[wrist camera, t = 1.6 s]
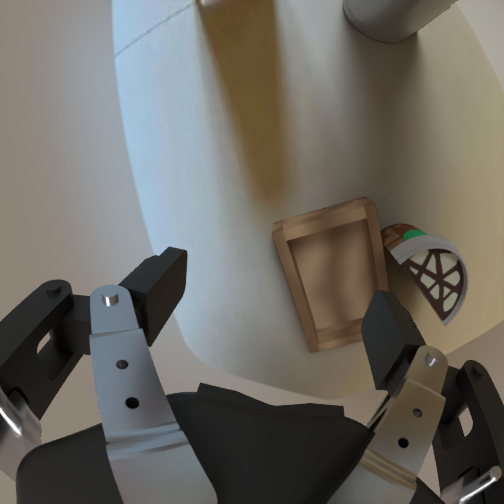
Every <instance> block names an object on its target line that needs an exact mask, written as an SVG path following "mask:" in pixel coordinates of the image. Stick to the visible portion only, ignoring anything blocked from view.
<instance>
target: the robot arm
mask: <svg viewBox="0 0 504 504" xmlns="http://www.w3.org/2000/svg"><path fill="white" fill-rule="evenodd" d="M456 1H458V0H343V9H344V12H345V14H346V16H347V18H348V19H349V21H350V22H351V23H352V24H353V25H354V26H355V27H356V28H357V29H358V30H359V31H361V32H362V33H364V34H365V35H367V36H369V37H371V38H373V39H375V40H378V41H382V42H388V43H395V42H400V41H403V40H405V39H406V38H407V37H409V36H410V35H411V34H413V33H414V32H415V31H418V30H420V29H421V28H422V27H424V26H425V25H426V24H428V23H429V22H431V21H432V20H433V19H435V18H436V17H437V16H439V15H440V14H442V13H443V12H444V11H446V10H447V9H449V8H450V6H451V5H452V4H453V3H455V2H456ZM186 272H187V251H186V250H183V249H178V248H174V247H168V248H167V249H166V250H165V251H164V252H163V253H162V254H161V255H160V256H157V255H155V256H152V257H150V258H147V259H145V260H144V261H143V262H142V263H141V264H140V265H139V266H138V267H137V268H135V269H134V271H133V272H131V273H130V274H129V275H128V276H127V277H126V278H125V279H124V280H123V281H122V282H121V283H120V284H118V285H106V286H102V287H99V288H97V289H96V290H94V291H93V292H92V294H91V296H82V295H73V294H72V288H71V285H70V284H69V283H68V282H67V281H64V280H51V281H47V282H45V283H43V284H42V285H40V286H39V287H38V288H37V289H36V290H35V291H33V292H32V293H31V294H30V295H29V296H28V297H27V298H26V299H24V300H23V301H22V302H21V303H20V304H19V305H18V306H16V307H15V309H13V310H12V311H11V312H10V313H9V314H8V315H7V316H6V317H5V318H4V319H3V320H2V321H1V322H0V469H1V470H2V471H3V472H4V473H6V474H7V475H8V476H9V477H11V478H12V479H13V480H14V481H15V482H16V494H17V504H504V405H503V403H502V401H501V398H500V396H499V394H498V392H497V390H496V388H495V386H494V383H493V381H492V380H491V377H490V376H489V374H488V372H487V370H486V369H485V368H484V366H482V365H481V364H480V363H478V362H476V361H474V360H468V361H466V362H465V363H464V365H463V366H462V368H461V369H457V368H454V367H451V366H448V361H447V358H446V357H445V355H444V354H443V353H442V352H441V351H440V350H438V349H436V348H434V347H432V346H428V345H426V343H425V341H424V339H423V337H422V335H421V333H420V332H419V330H418V328H417V326H416V324H415V322H413V319H412V317H411V315H410V313H409V312H408V311H407V310H406V309H405V308H404V307H403V306H402V305H401V304H400V303H399V301H398V299H397V297H396V295H395V294H394V293H393V292H389V291H383V290H376V291H375V293H374V295H373V297H372V299H371V302H370V304H369V306H368V309H367V311H366V313H365V315H364V318H363V320H362V324H361V335H362V338H363V342H364V345H365V349H366V352H367V356H368V360H369V364H370V367H371V371H372V375H373V379H374V383H375V388H376V390H388V394H387V395H386V397H385V398H384V399H383V401H382V402H381V404H380V406H379V407H378V409H377V410H376V412H375V413H374V415H373V417H372V418H371V419H370V421H369V422H368V424H367V425H366V426H364V425H363V424H361V423H359V422H357V421H355V420H353V419H350V418H348V417H345V416H344V408H343V406H335V405H324V404H314V403H306V404H296V405H282V406H273V405H269V404H267V403H264V402H261V401H259V400H256V399H254V398H252V397H249V396H247V395H244V394H242V393H240V392H237V391H234V390H229V389H225V388H220V387H216V386H212V385H208V384H204V383H200V385H199V388H198V390H197V392H180V393H173V394H169V395H165V393H164V390H163V388H162V385H161V383H160V380H159V377H158V374H157V372H156V369H155V366H154V363H153V360H152V358H151V354H150V352H149V349H148V346H149V347H151V346H152V344H153V342H154V341H155V339H156V338H157V336H158V334H159V333H160V331H161V330H162V328H163V326H164V325H165V323H166V322H167V320H168V319H169V317H170V315H171V314H172V312H173V311H174V309H175V308H176V306H177V304H178V303H179V301H180V300H181V298H182V296H183V294H184V291H185V286H186ZM48 332H49V335H50V337H51V338H50V340H49V341H48V342H47V343H46V344H45V346H44V347H43V348H42V349H41V350H40V351H39V353H38V354H37V347H38V344H39V342H40V341H41V340H42V339H43V337H44V336H45V335H46V334H47V333H48ZM83 354H85V355H91V361H92V369H93V377H94V384H95V389H96V396H97V402H98V407H99V412H100V417H101V421H102V423H100V424H97V425H95V426H92V427H90V428H87V429H85V430H82V431H79V432H77V433H74V434H71V435H69V436H66V437H63V438H60V439H57V440H54V441H51V442H48V443H45V444H42V445H41V439H40V437H41V433H42V429H41V424H40V420H41V418H42V416H43V414H44V413H45V411H46V410H47V408H48V407H49V405H50V403H51V402H52V400H53V399H54V397H55V395H56V394H57V393H58V391H59V389H60V388H61V386H62V385H63V383H64V382H65V380H66V379H67V377H68V376H69V375H70V373H71V372H72V370H73V369H74V367H75V366H76V364H77V363H78V362H79V360H80V358H81V357H82V356H83ZM467 407H468V408H469V411H470V414H471V417H472V420H473V427H472V430H471V431H470V433H469V434H468V435H467V436H466V437H465V436H464V433H463V430H462V426H461V423H460V420H459V416H460V415H461V413H462V412H463V411H464V410H465V409H466V408H467ZM431 443H432V445H433V450H434V455H435V461H436V466H437V472H438V478H439V486H440V497H438V496H437V495H436V494H435V493H434V492H433V491H432V490H431V489H430V488H429V487H428V486H427V485H426V484H425V483H424V482H423V481H421V480H420V478H418V477H417V475H418V473H419V471H420V469H421V467H422V464H423V462H424V460H425V458H426V455H427V453H428V450H429V448H430V446H431Z"/></svg>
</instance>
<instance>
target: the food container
mask: <svg viewBox="0 0 504 504" xmlns="http://www.w3.org/2000/svg"><path fill="white" fill-rule="evenodd" d="M380 233H381V239H382V243H383V244H384V245H385V247H386V248H387V249H388V250H389V251H390V253H391V254H392V255H393V257H394V258H395V259H396V260H397V262H398V263H399V264H400V265H401V266H402V267H403V268H404V270H405V271H406V272H407V274H408V275H409V276H410V277H411V279H412V280H413V281H414V283H415V284H416V285H417V287H418V288H419V289H420V291H421V292H422V294H423V295H424V296H425V298H426V299H427V301H428V302H429V303H430V305H431V306H432V308H433V309H434V311H435V312H436V314H437V315H438V317H439V318H440V320H441V321H442V323H443V324H444V326H445V327H446V326H447V325H448V324H449V323H450V322H451V321H452V320H453V319H454V317H455V316H456V315H457V313H458V312H459V310H460V308H461V306H462V305H463V302H464V300H465V297H466V294H467V289H468V273H467V269H466V264H465V262H464V260H463V258H462V256H461V254H460V253H459V251H458V250H457V248H456V247H455V246H454V245H453V244H452V243H451V242H450V241H449V240H447V239H445V238H443V237H440V236H437V235H428V234H426V233H424V232H422V231H421V230H419V229H417V228H416V227H414V226H412V225H408V224H395V225H391V226H389V227H386V228H385V229H383V230H381V231H380Z"/></svg>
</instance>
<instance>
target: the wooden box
mask: <svg viewBox="0 0 504 504" xmlns="http://www.w3.org/2000/svg"><path fill="white" fill-rule="evenodd" d="M272 236H273V239H274V241H275V244H276V247H277V250H278V253H279V256H280V259H281V262H282V265H283V268H284V271H285V274H286V277H287V280H288V283H289V286H290V289H291V292H292V295H293V298H294V301H295V304H296V307H297V310H298V313H299V316H300V319H301V322H302V325H303V328H304V332H305V335H306V338H307V341H308V344H309V347H310V350H311V353H312V352H316V351H320V350H325V349H329V348H333V347H337V346H341V345H345V344H349V343H353V342H356V341H360V340H363V338H362V335H361V324H362V320H363V318H364V315H365V313H366V311H367V309H368V306H369V304H370V302H371V299H372V297H373V295H374V293H375V291H376V290H383V291H389V287H388V279H387V271H386V264H385V257H384V251H383V245H382V239H381V233H380V228H379V223H378V218H377V213H376V208H375V204H374V203H372V202H371V201H370V200H369V199H367V198H366V197H362V198H359V199H355V200H351V201H348V202H344V203H341V204H337V205H334V206H330V207H327V208H323V209H320V210H316V211H313V212H309V213H306V214H303V215H299V216H296V217H292V218H289V219H286V220H282V221H279V222H276V223H274V225H273V230H272Z"/></svg>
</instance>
